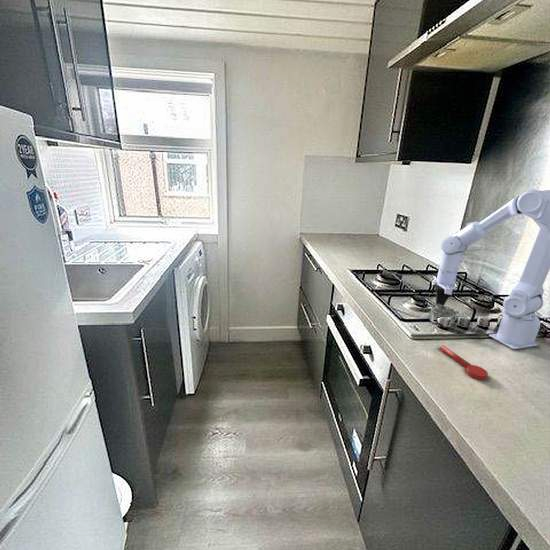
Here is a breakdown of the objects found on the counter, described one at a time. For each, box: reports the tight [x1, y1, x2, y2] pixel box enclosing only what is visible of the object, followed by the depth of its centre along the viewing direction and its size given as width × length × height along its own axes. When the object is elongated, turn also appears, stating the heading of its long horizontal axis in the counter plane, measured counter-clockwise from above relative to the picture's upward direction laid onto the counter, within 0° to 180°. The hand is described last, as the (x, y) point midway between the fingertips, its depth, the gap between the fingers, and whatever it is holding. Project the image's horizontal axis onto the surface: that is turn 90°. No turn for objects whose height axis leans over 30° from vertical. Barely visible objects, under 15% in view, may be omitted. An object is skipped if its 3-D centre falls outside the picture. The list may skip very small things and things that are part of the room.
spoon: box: [439, 344, 489, 381], centre depth 79 cm, size 4×14×1 cm, turn 16°
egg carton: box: [429, 304, 460, 328], centre depth 102 cm, size 11×8×4 cm
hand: (439, 305), depth 110 cm, fingers closed
